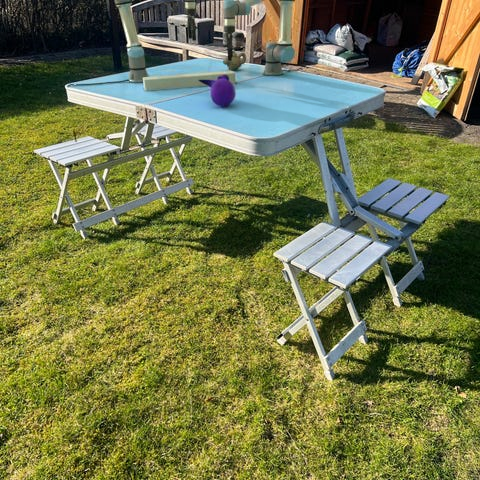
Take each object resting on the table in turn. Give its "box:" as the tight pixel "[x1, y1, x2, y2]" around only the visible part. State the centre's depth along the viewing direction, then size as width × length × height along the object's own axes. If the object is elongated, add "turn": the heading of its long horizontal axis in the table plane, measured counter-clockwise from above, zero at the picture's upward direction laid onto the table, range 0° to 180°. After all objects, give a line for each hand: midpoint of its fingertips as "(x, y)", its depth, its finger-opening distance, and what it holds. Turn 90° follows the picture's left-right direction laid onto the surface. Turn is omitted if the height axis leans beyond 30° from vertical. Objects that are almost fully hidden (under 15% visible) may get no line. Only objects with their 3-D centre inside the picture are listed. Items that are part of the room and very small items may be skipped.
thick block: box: [143, 70, 237, 92], centre depth 319 cm, size 65×10×7 cm, turn 107°
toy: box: [199, 75, 237, 107], centre depth 269 cm, size 16×18×27 cm
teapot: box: [222, 50, 247, 71], centre depth 368 cm, size 21×12×15 cm, turn 120°
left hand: (192, 39), depth 345 cm, fingers open, 13 cm apart
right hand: (230, 59), depth 316 cm, fingers open, 13 cm apart
